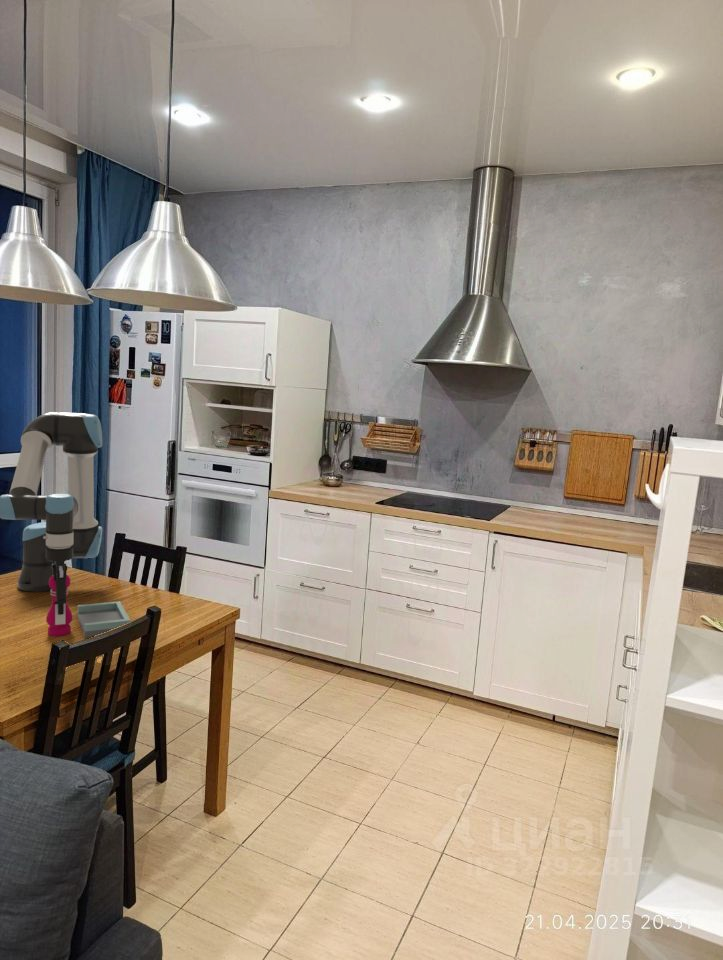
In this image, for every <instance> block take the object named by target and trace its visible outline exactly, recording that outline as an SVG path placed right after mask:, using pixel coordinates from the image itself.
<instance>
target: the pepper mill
mask: <svg viewBox="0 0 723 960" xmlns="http://www.w3.org/2000/svg"><path fill="white" fill-rule="evenodd" d="M56 578H57V577H56ZM70 585H71V578H70V576H69V575H68V574H67V573H66V605H65V624H60V625H55V604H53V602H56V581H54V575H52V576H51V577H50V579H49V586H50V588H51V590H49V592H50V596H51V606H50V608H49V609H48V612H47V614H46V619H45V620H46V623H47V625H48V627H47V634H48V635H50V636H54V637H59V636H60V637H61V636H65V635H68V634H70V633H71V631H72V630H71V627H72V626H71V625H70V624H71V623H72V621H73V613H72V610H71V608H70V607H69V605H68V601H67V598H68V597H67V596H68V595H69V586H70ZM60 600H61V599H60Z"/></svg>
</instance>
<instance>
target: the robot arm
mask: <svg viewBox="0 0 723 960" xmlns="http://www.w3.org/2000/svg"><path fill="white" fill-rule="evenodd" d="M103 441H104V440H103V430H102V423H101V421H100V419H99V416H97V415H96V414H90V413H82V412H80V413H79V412H78V413H77V412H57V411H56V412H55V411H50V412H46V413H43V414H40V415H39V416H36V418H34V419H33V420H31V421H30V422H29V423H28V424H27V426H26V427H25V428H24V429H23V432H22V434H21V437H20V445H21V450H20V453H19V457H18V461H17V464H16V468H15V471H14V475H13V479H12V482H11V486H10V490H9V493H7V494H1V495H0V519H1V520H11V521H13V520H14V521H15V520H17V521H18V520H19V521H21V520H23V521H24V520H25V521H26V520H27V521H28V520H35V521H36V520H38V521H43V522H37V523H33V524H32V523H31V524H30V525H27V526H26V527H24V528H23V531H22V538H21V540H22V568H21V571H20V573H19V576H18V579H17V588H18V590H20V591H25V592H32V593H33V592H34V593H35V592H47V591H50V590H51V588H50V586H49V579H50V577H51V576H52V575H54V581H56V602H53V604H55V625H60V624H65V605H66V574H67V571H68V565H67V563H65V562H66V561H70V560H72V559H88V558H90V559H92V558H96V557H98V555H99V553H100V548H101V544H102V543H101V542H102V538H103V537H102V536H103V527H102V526H101V525H100V526H99V521H98V520H97V519H96V518H95V515H94V513H95V512H94V511H95V504H94V503H95V502H94V501H95V499H94V498H95V496H94V495H95V494H94V492H95V491H94V490H95V489H94V488H95V487H94V485H95V484H94V480H95V479H94V476H95V475H94V474H95V473H94V470H95V469H94V463H95V462H94V461H95V460H94V456H95V455H97V453H99V448H100V449H101V448H102V447H103V443H104V442H103ZM52 446H57V447H58V446H59V447H62V452H63V453H64V454H65V455H66V456H67V493H52V494H49V495H39V494H38V491H39V486H40V483H41V478H42V473H43V468H44V464H45V460H46V456H47V452H49V450H50V449H51V448H52ZM56 577H57V578H56ZM60 599H61V600H60Z"/></svg>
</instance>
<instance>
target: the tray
mask: <svg viewBox="0 0 723 960" xmlns="http://www.w3.org/2000/svg"><path fill="white" fill-rule="evenodd" d="M77 619H79V620H78V621H79V625H80V628H81V630H83V631H82V633H84V634H83V636H85V637H84V639H86V638H93V637H92V636H95V635H98V634H101V633H104V632H107V631H109V630H111V629H114V628H117V627H119V626H122V625H124V624H127V623H129V622H130V623H131V619H130V617H129V615H128V614H127V611H126V610H125V608H124V607H123V604H122V602H121V601H120V600H119V601H108V602H95V603H90V604H88V603H87V604H78V605H77Z"/></svg>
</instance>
